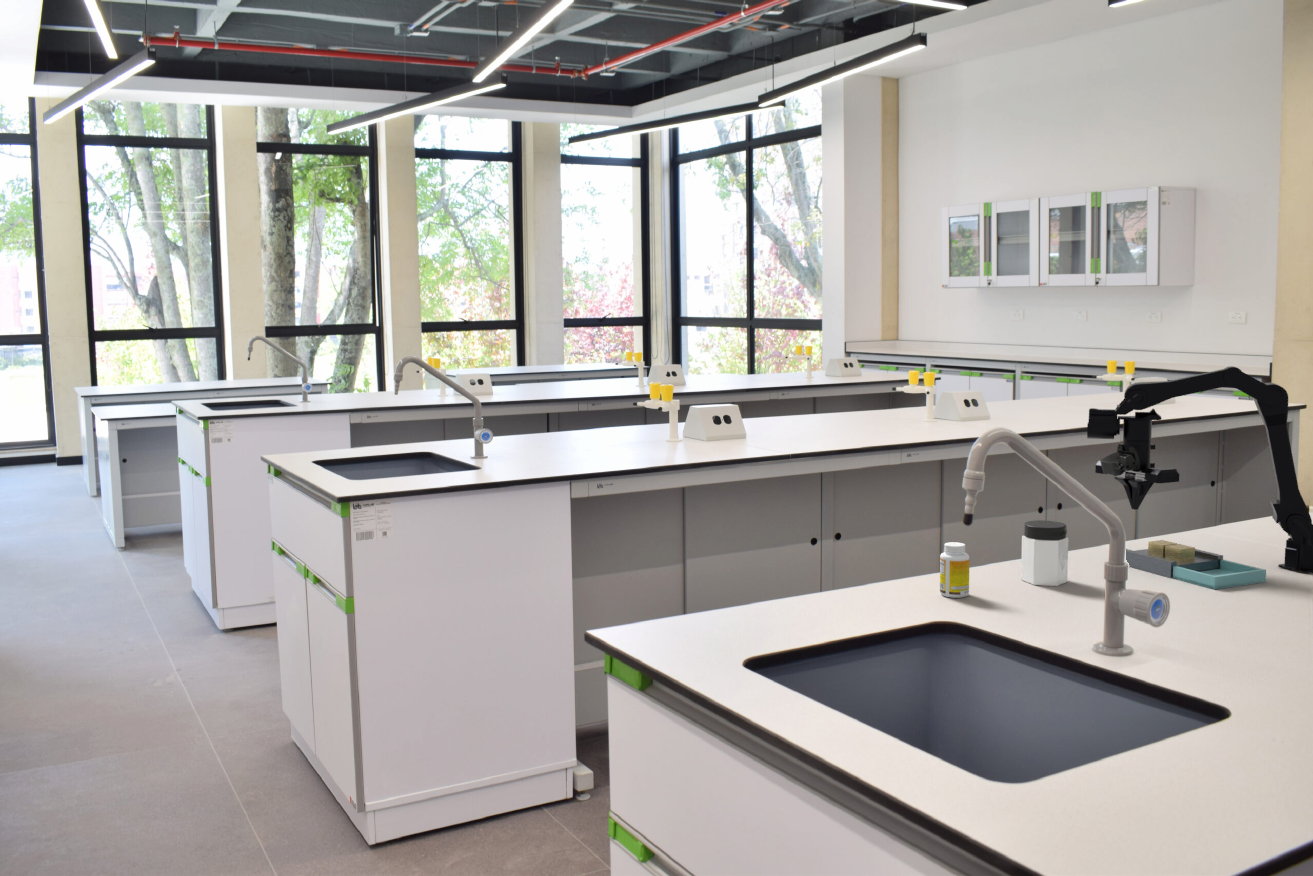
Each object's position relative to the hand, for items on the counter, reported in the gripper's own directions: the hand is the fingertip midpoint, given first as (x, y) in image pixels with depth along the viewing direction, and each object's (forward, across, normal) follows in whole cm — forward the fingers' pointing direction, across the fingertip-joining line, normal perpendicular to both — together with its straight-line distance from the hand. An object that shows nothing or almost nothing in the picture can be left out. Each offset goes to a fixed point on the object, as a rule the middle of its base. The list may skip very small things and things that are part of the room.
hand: (1134, 509), depth 233 cm
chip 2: (+8, +12, 0) cm, 15 cm away
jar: (+11, +8, -32) cm, 35 cm away
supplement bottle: (+11, +9, -55) cm, 57 cm away
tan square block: (+8, +8, 0) cm, 12 cm away
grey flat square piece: (+11, +10, 0) cm, 15 cm away
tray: (+11, +22, 0) cm, 25 cm away
